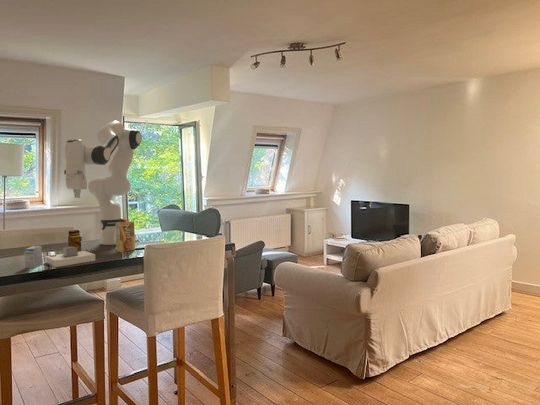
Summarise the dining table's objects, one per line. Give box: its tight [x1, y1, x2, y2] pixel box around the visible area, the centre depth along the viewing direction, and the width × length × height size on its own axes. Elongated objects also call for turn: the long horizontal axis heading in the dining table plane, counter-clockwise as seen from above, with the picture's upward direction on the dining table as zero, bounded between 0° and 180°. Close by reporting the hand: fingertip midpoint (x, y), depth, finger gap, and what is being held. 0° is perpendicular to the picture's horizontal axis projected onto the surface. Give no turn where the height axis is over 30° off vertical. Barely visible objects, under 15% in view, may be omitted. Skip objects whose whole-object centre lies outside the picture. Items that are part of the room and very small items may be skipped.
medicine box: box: [23, 245, 44, 269], centre depth 195 cm, size 8×4×9 cm, turn 5°
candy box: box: [115, 220, 136, 253], centre depth 227 cm, size 9×4×15 cm, turn 142°
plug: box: [62, 246, 78, 257], centre depth 203 cm, size 5×5×6 cm
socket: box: [45, 250, 96, 268], centre depth 203 cm, size 18×14×3 cm
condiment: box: [67, 229, 82, 252], centre depth 223 cm, size 7×8×12 cm
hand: (77, 198), depth 219 cm, fingers closed
